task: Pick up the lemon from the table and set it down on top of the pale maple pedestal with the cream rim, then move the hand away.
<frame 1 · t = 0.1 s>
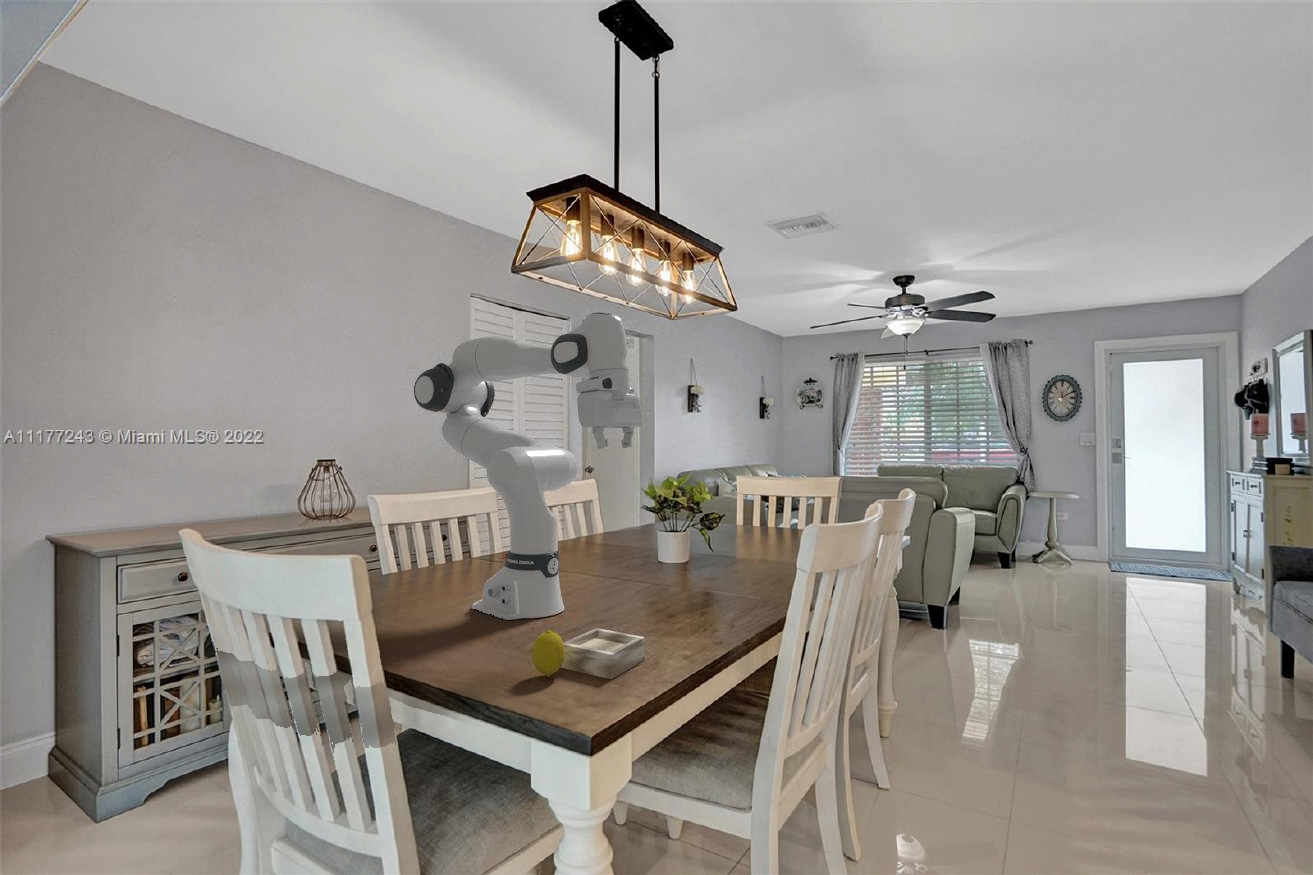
hand: (615, 448, 139), 39 cm above the table, tool pointing down, fingers open, 8 cm apart
lemon: (548, 677, 109), on the table
base: (603, 663, 116), on the table
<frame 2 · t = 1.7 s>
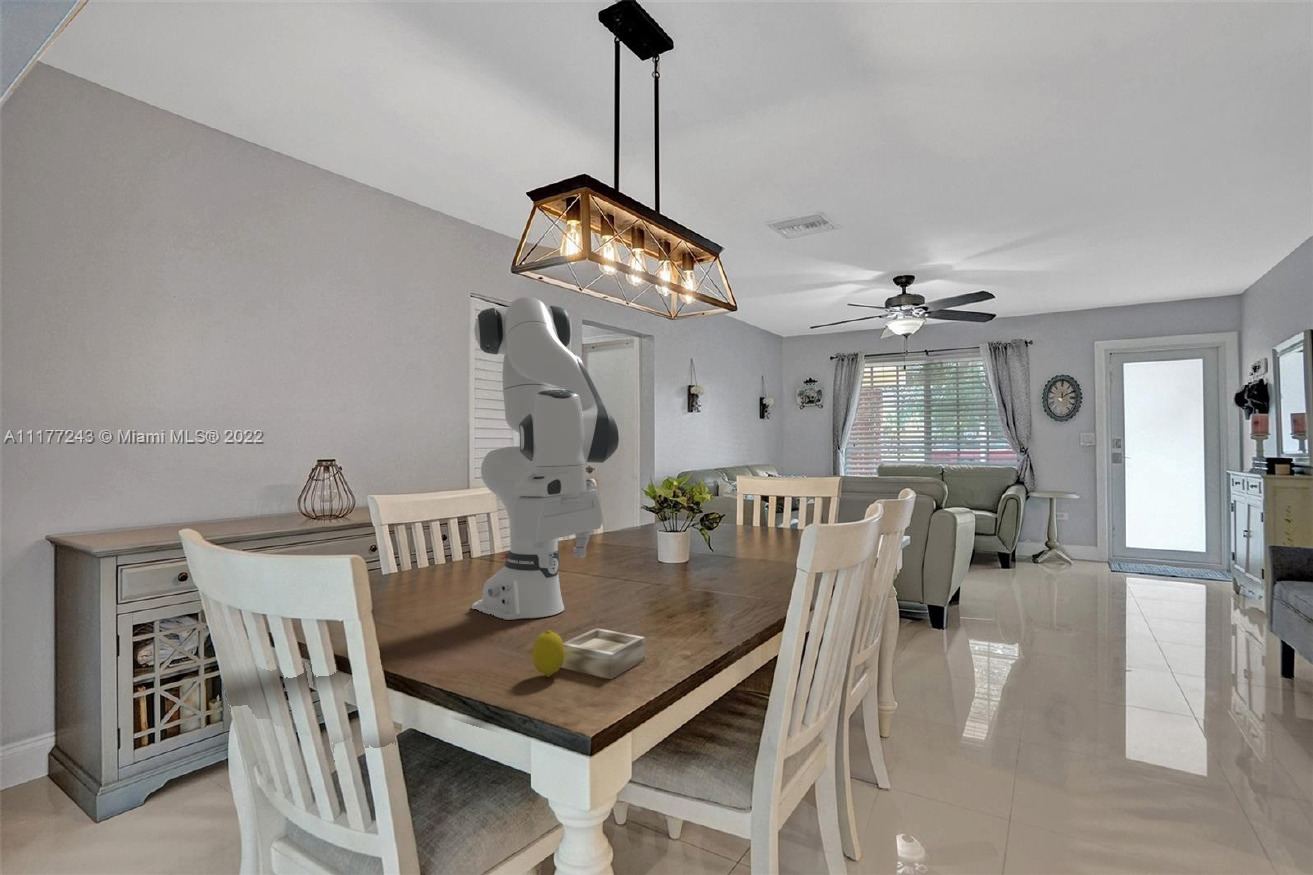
hand: (563, 562, 110), 20 cm above the table, tool pointing down, fingers open, 8 cm apart
nothing on the table moved.
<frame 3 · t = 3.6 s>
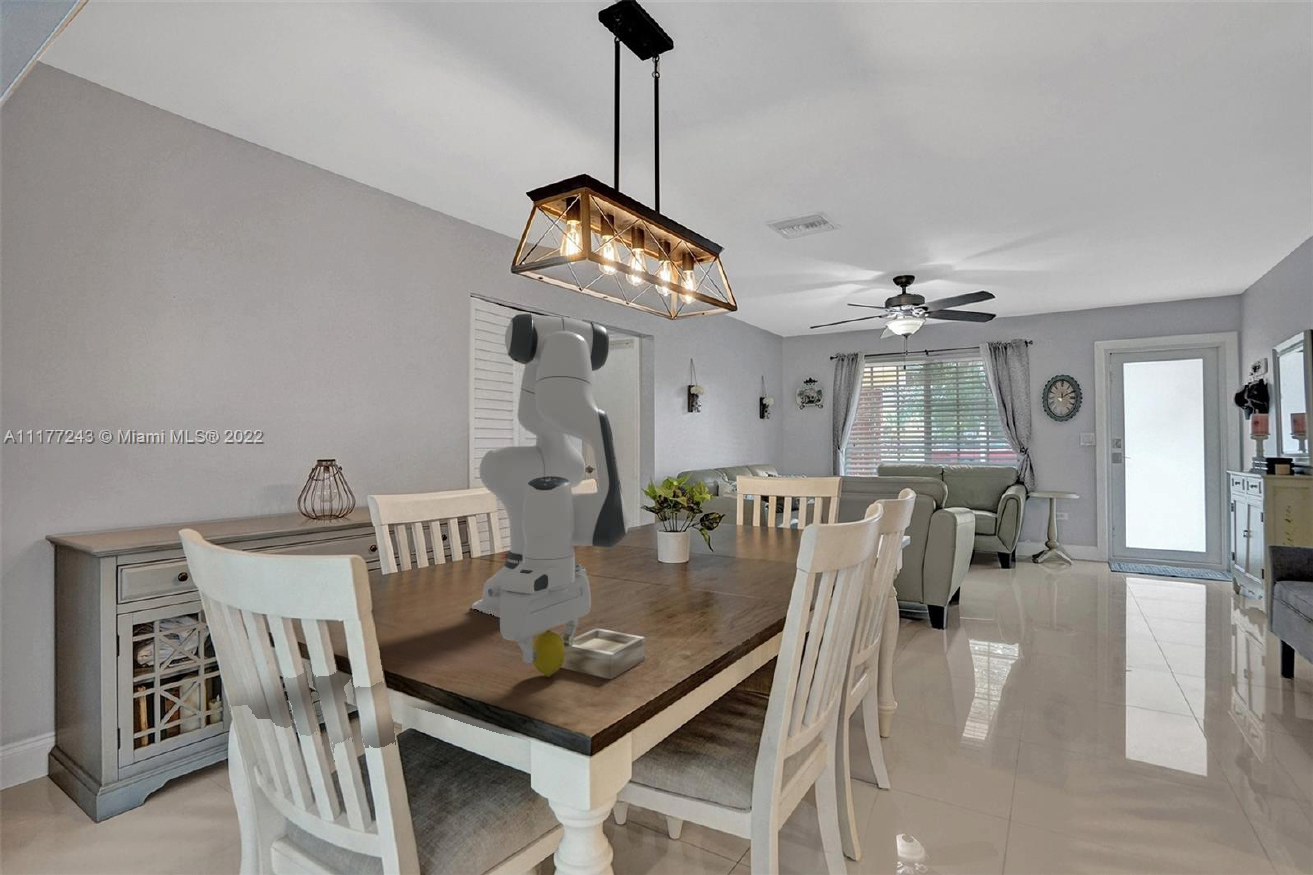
hand: (549, 653, 109), 4 cm above the table, tool pointing down, fingers open, 8 cm apart
nothing on the table moved.
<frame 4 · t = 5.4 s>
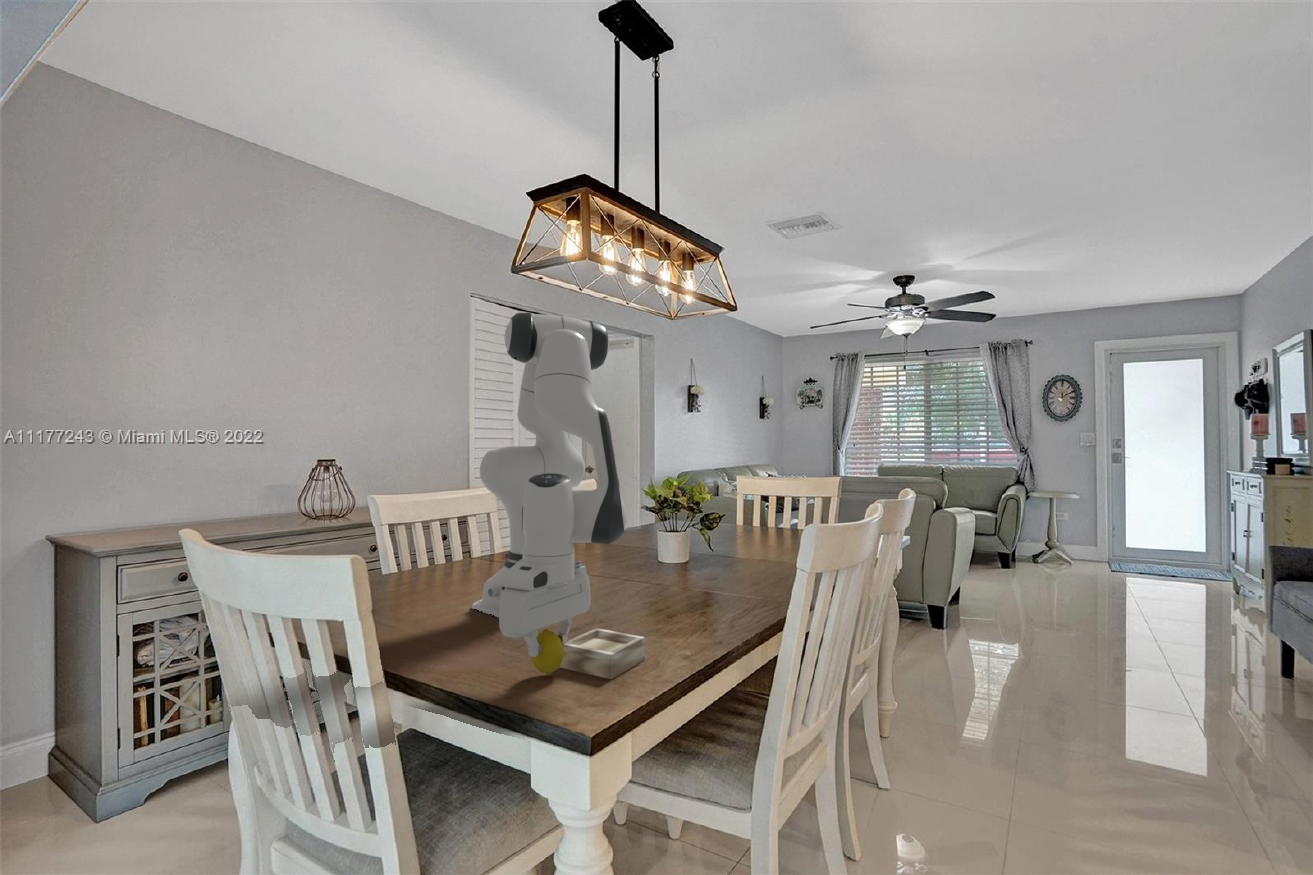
hand: (548, 649, 109), 5 cm above the table, tool pointing down, fingers closed on lemon, 5 cm apart
lemon: (549, 676, 109), on the table, touching gripper
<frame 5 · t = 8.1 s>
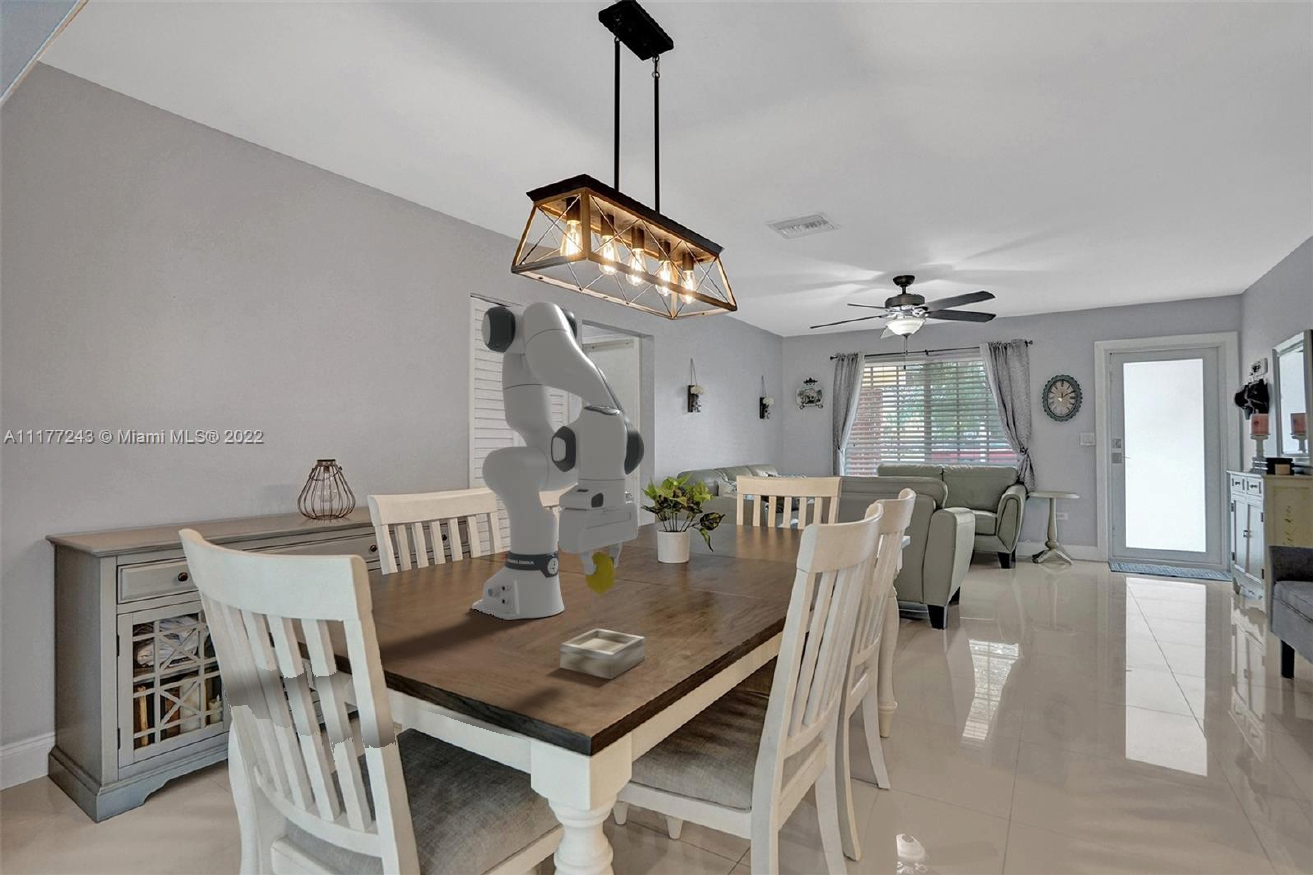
hand: (601, 570, 115), 17 cm above the table, tool pointing down, fingers closed on lemon, 5 cm apart
lemon: (601, 596, 116), point 12 cm above the table, touching gripper
when the fingers open (8 cm above the table, at t = 10.9 s): lemon stays where it is, resting on base.
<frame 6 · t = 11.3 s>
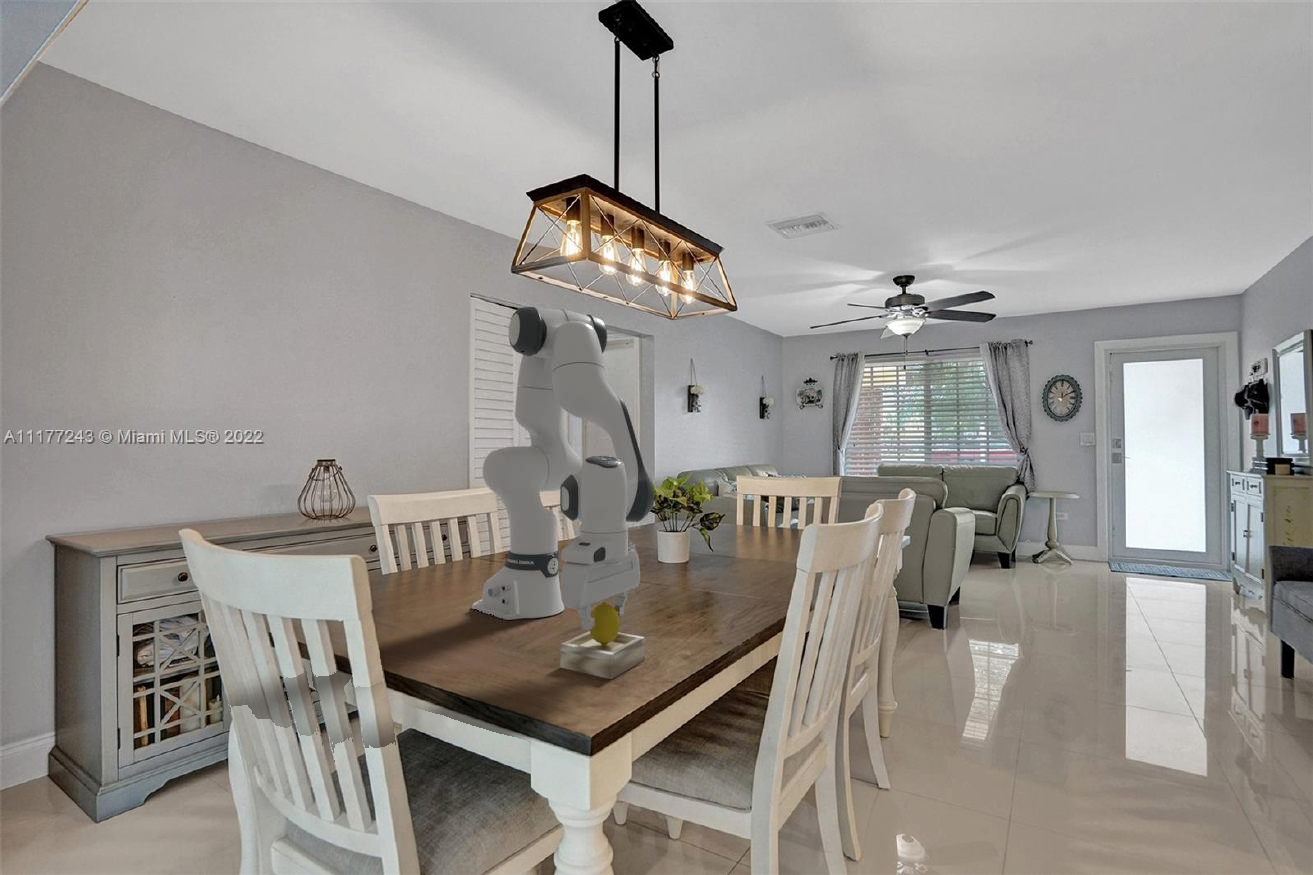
hand: (603, 621, 116), 8 cm above the table, tool pointing down, fingers open, 8 cm apart
lemon: (604, 647, 116), point 3 cm above the table, touching base
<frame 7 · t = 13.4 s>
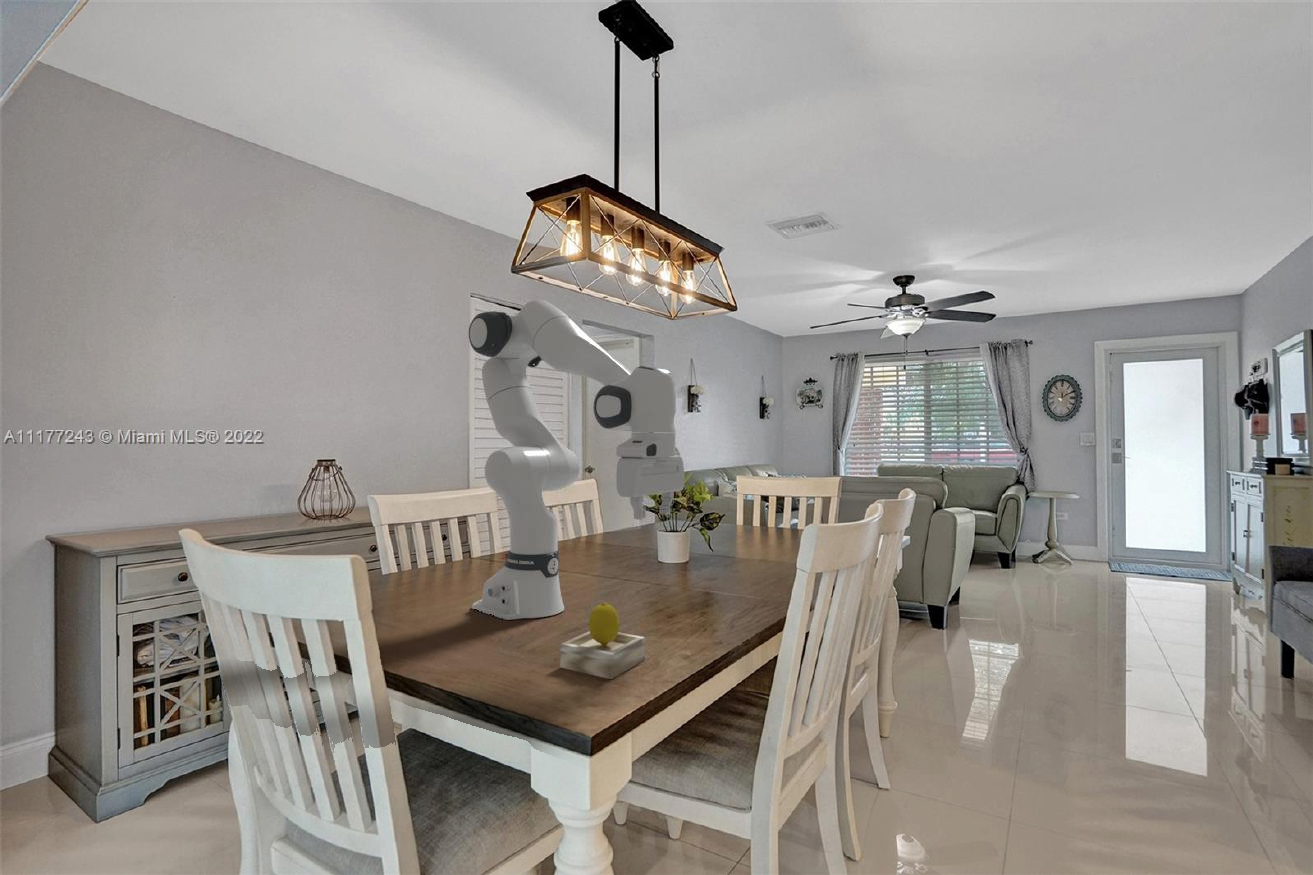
hand: (652, 516, 127), 25 cm above the table, tool pointing down, fingers open, 8 cm apart
nothing on the table moved.
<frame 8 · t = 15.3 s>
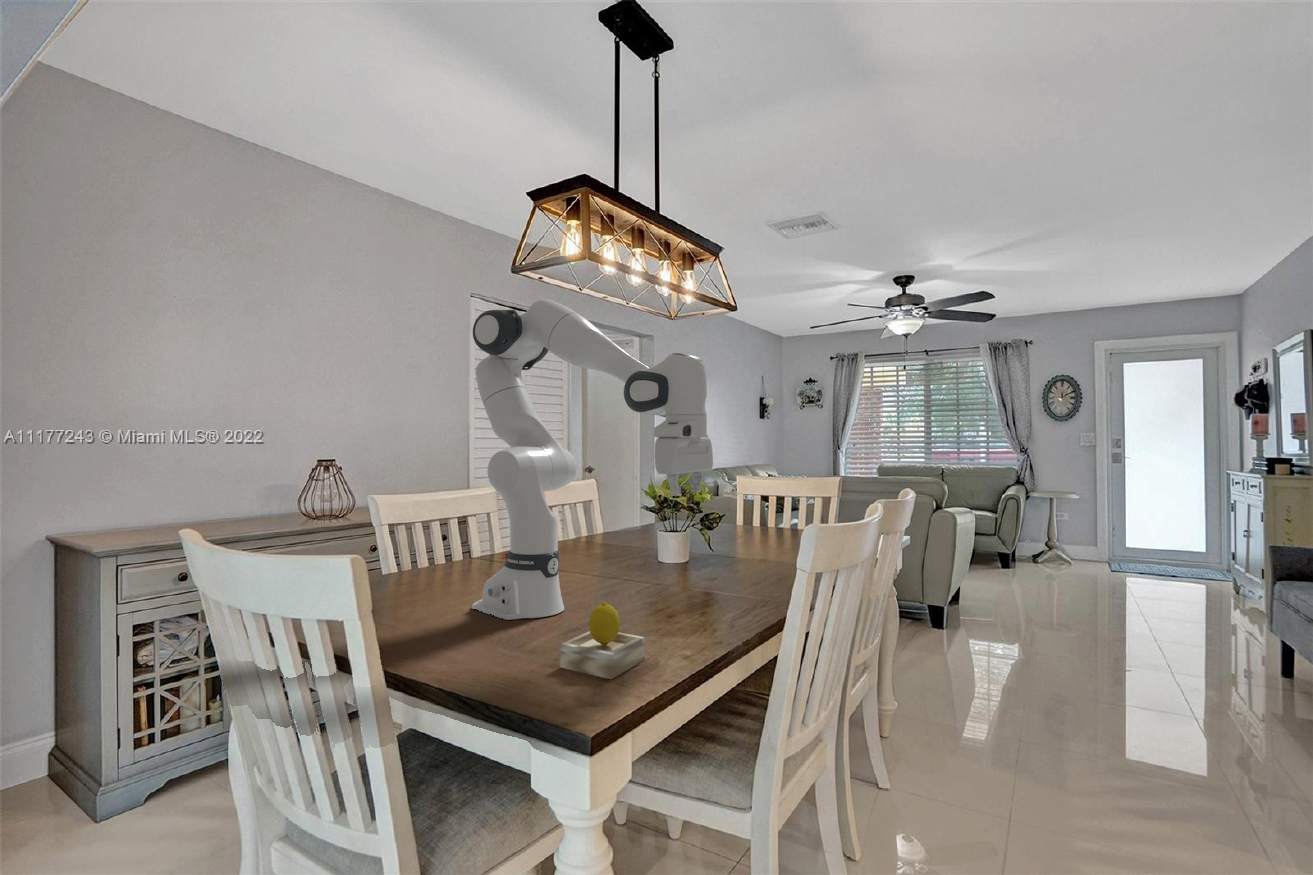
hand: (686, 493, 136), 29 cm above the table, tool pointing down, fingers open, 8 cm apart
nothing on the table moved.
at the end: lemon 0.4 cm from the base (horizontally); lemon touching base; the gripper is holding nothing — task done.
